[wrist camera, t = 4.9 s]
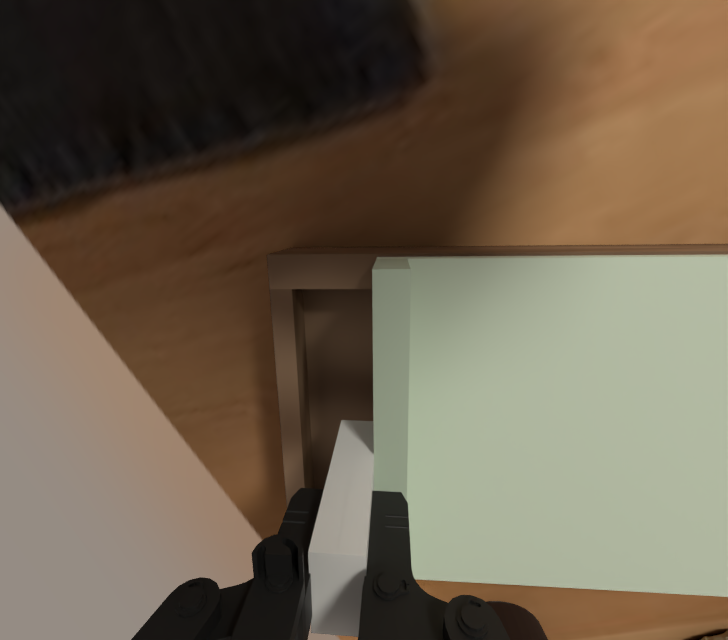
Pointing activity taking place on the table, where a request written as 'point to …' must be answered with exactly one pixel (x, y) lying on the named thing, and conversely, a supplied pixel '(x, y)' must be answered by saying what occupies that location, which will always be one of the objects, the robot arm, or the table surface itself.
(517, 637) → the coffee mug
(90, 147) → the table surface
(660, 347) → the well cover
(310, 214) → the table surface
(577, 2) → the table surface
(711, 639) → the sea urchin shell
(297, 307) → the brown wooden shallow box
